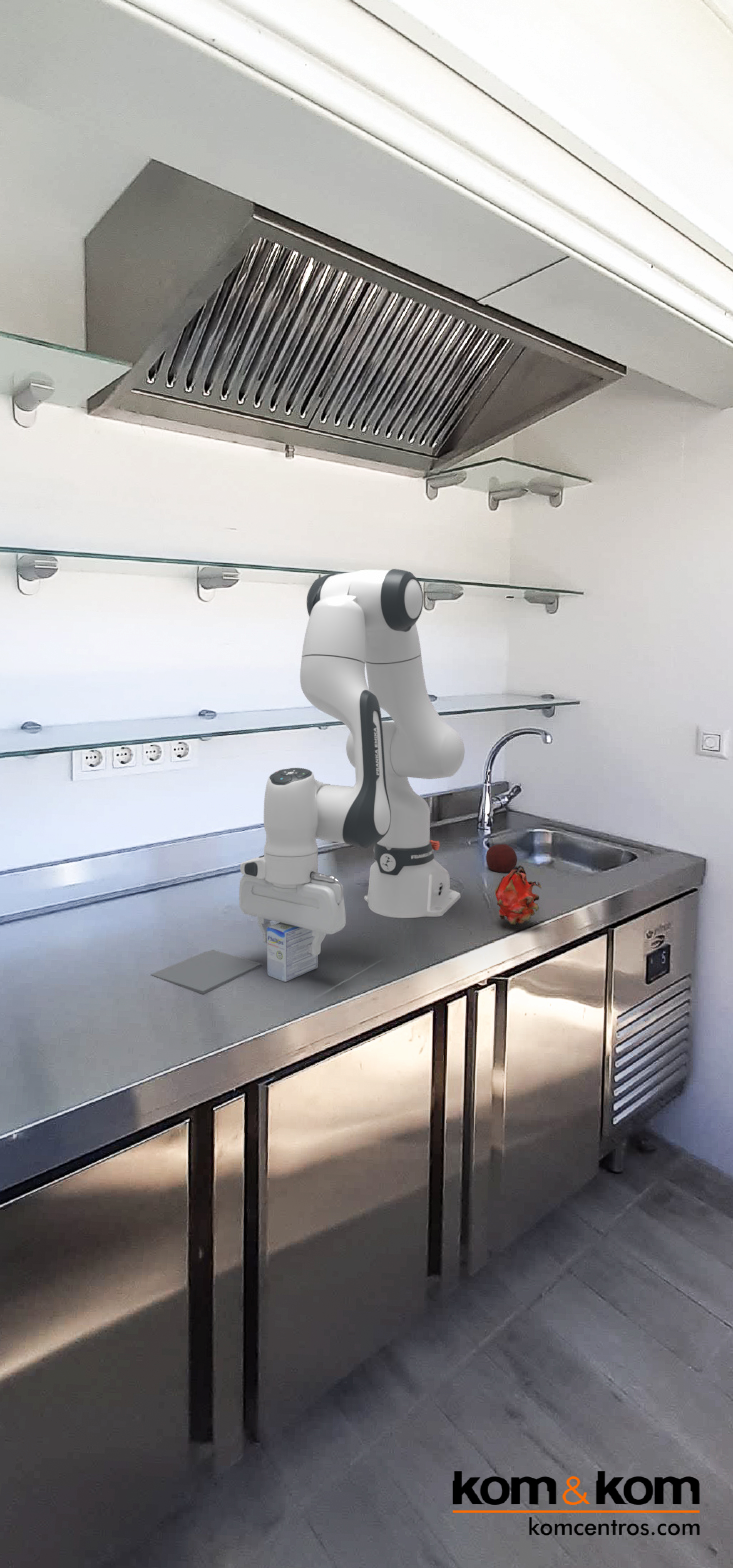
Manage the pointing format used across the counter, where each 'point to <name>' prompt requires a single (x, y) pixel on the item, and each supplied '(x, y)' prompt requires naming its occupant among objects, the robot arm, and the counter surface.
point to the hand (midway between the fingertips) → (291, 948)
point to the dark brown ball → (501, 858)
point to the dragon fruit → (516, 897)
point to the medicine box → (289, 951)
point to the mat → (207, 971)
